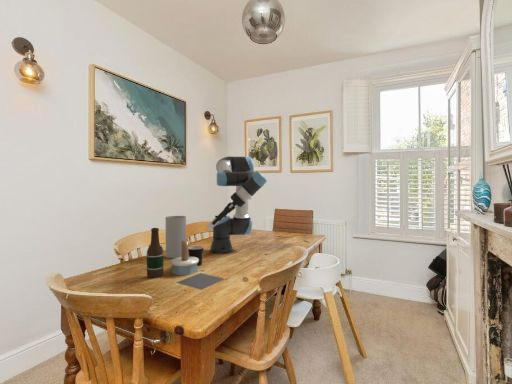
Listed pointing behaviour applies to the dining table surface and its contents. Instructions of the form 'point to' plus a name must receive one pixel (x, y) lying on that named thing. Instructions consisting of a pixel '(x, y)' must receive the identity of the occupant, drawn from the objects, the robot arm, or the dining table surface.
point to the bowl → (184, 269)
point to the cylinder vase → (175, 235)
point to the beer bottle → (155, 256)
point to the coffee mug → (196, 253)
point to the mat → (200, 281)
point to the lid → (184, 257)
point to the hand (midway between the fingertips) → (211, 226)
